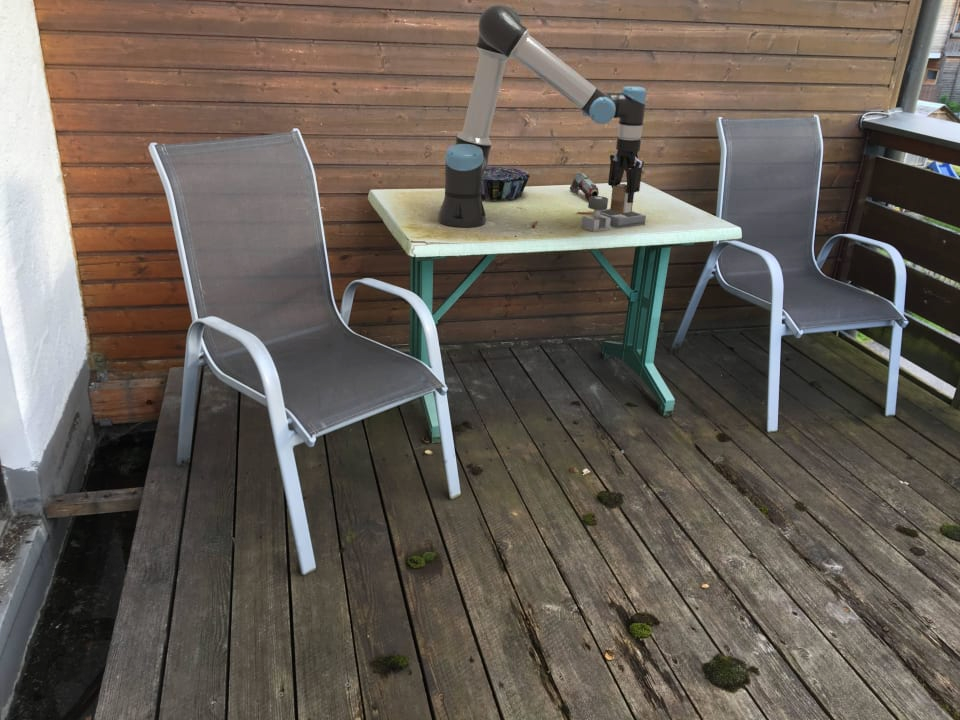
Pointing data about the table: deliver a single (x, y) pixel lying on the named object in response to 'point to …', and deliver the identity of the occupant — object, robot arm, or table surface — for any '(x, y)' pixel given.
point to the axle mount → (596, 223)
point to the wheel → (597, 204)
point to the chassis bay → (624, 218)
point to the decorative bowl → (503, 183)
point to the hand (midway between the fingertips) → (620, 210)
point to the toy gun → (584, 186)
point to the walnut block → (618, 198)
